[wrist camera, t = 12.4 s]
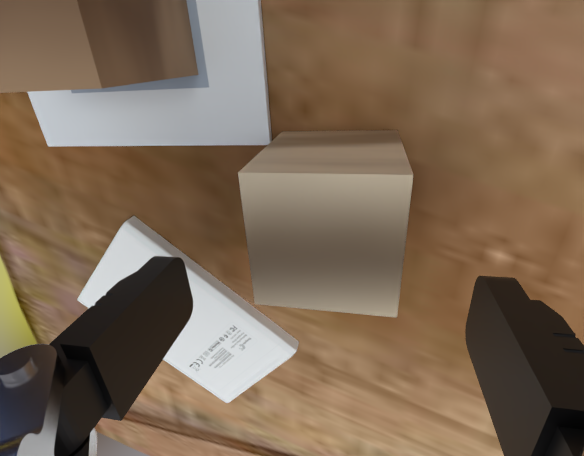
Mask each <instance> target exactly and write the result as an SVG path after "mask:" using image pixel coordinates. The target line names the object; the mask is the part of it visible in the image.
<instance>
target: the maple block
mask: <svg viewBox="0 0 584 456" xmlns="http://www.w3.org/2000/svg"><path fill="white" fill-rule="evenodd" d="M238 177H239V185H240V193H241V200H242V208H243V216H244V224H245V231H246V239H247V247H248V254H249V262H250V270H251V278H252V285H253V293H254V301H255V304H260V305H270V306H281V307H292V308H302V309H313V310H323V311H334V312H344V313H355V314H366V315H376V316H387V317H397V312H398V304H399V295H400V287H401V278H402V269H403V261H404V252H405V243H406V235H407V226H408V217H409V209H410V200H411V191H412V183H413V172H412V169H411V167H410V164H409V161H408V158H407V155H406V152H405V150H404V147H403V144H402V141H401V138H400V135H399V133H398V130H352V131H282V132H281V133H280V134H279V135H278V136H277V137H276V138H275V139H274V140H273V141H271V142H270V143H269V144H268V145H267V146H266V147H265V148H264V149H263V150H262V151H261V152H260V153H258V154H257V155H256V156H255V157H254V158H253V159H252V160H251V161H250V162H249V163H248V164H247V165H246V166H244V167H243V168H242V169H241V170H240V171H239V172H238Z"/></svg>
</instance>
